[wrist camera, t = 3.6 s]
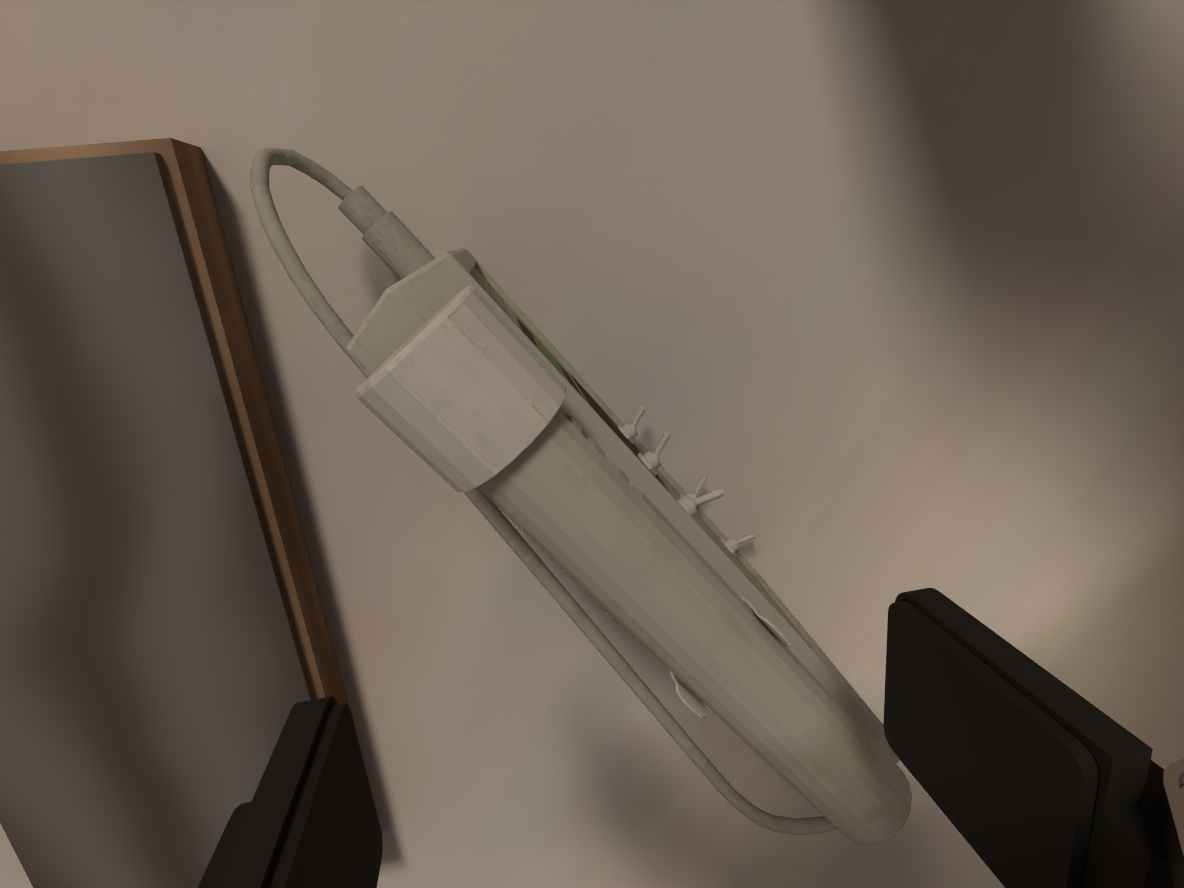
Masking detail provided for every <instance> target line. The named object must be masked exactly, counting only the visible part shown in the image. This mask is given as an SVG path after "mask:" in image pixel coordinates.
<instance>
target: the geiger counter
mask: <svg viewBox="0 0 1184 888" xmlns="http://www.w3.org/2000/svg"><path fill="white" fill-rule="evenodd" d="M272 165H287V166H291V167H293V168H295V169H297V170H299V171H301V172H303V173H305V174H307V175H308V176H310V177H311V178H313V179H315V180H316V181H318V182H319V183H321V184H323V185H324V186H325V187H326V188H328V189H329V190H330V191H331V192H333V193H334V194H335V195H337V196H338V197H339V198H341V199H342V200H343V201H342V202H341V203H340V205H339V207H338V208H339V209H340V211H341V212H342V213H343V214H344V215H345V216H346V217H347V218H348V219H349V220H350V221H351V222H352V223H353V224H354V225H355V226H356V227H357V228H358V229H359V230H360V231H361V232H362V234H363V237H362V240H363V241H364V242H365V243H366V244H367V245H368V246H369V247H370V248H371V249H372V250H373V251H374V252H375V253H376V254H377V255H378V256H379V257H380V258H381V259H382V260H383V261H384V263H385V264H386V265H387V266H388V267H389V268H390V269H391V270H392V271H393V272H394V273H395V274H396V275H397V276H398V277H399V278H400V279H401V280H400V281H398V282H397V283H395V284H393V285H392V286H390V287H388V288H387V289H385V291H384V292H383V294H382V295H381V297H380V298H379V300H378V301H377V303H376V304H375V305H374V307H373V308H372V310H371V311H370V313H369V314H368V316H367V317H366V319H365V320H364V322H363V323H362V324H361V326H360V327H359V329H358V330H357V332H356V333H355V335H354V336H353V335H352V333H351V332H350V331H349V329H348V328H347V327H346V325H345V324H344V323H343V321H342V320H341V319H340V318H339V316H338V315H337V314H336V312H335V311H334V310H333V308H332V307H331V306H330V304H329V303H328V302H327V301H326V299H325V298H324V296H323V295H322V293H321V292H320V290H319V289H318V287H317V286H316V284H315V283H314V281H313V280H312V278H311V277H310V275H309V274H308V272H307V271H306V269H305V267H304V265H303V264H302V262H301V260H300V258H299V256H298V255H297V253H296V251H295V249H294V248H293V246H292V244H291V242H290V240H289V238H288V236H287V234H286V232H285V230H284V228H283V226H282V224H281V222H280V219H279V217H278V214H277V211H276V208H275V206H274V203H273V200H272V196H271V192H270V189H269V170H270V167H271V166H272ZM250 186H251V190H252V194H253V198H254V203H255V206H256V209H257V212H258V215H259V218H260V221H261V224H262V226H263V228H264V230H265V232H266V234H267V237H268V239H269V241H270V243H271V245H272V247H273V249H274V251H275V252H276V254H277V256H278V258H279V260H280V261H281V263H282V265H283V267H284V269H285V270H286V272H287V274H288V276H289V277H290V279H291V280H292V282H293V283H294V285H295V286H296V288H297V289H298V291H299V292H300V294H301V295H302V297H303V298H304V300H305V301H306V303H307V304H308V306H309V307H310V309H311V310H312V311H313V312H314V314H315V315H316V316H317V318H318V319H319V320H320V322H321V323H322V324H323V325H324V327H325V328H326V329H327V331H328V332H329V333H330V335H331V336H332V337H333V338H334V340H335V341H336V342H337V344H338V345H339V346H340V347H341V348H342V350H343V351H344V352H345V353H346V354H347V356H348V357H349V358H350V359H351V360H352V361H353V363H354V364H355V365H356V366H357V367H358V369H359V370H360V371H361V372H362V373H363V374H364V376H365V377H366V378H367V379H366V380H365V381H364V382H363V383H362V385H361V386H360V387H359V388H358V389H357V390H356V394H355V395H356V397H357V399H358V400H359V401H360V402H362V403H363V404H364V405H365V406H366V407H367V408H368V409H369V410H370V411H371V412H372V413H373V414H374V415H375V416H377V417H378V418H379V419H380V420H381V421H382V422H383V423H384V424H385V425H386V426H387V427H388V428H389V429H391V430H392V431H393V432H394V433H395V434H396V435H397V436H398V437H399V438H400V439H401V440H402V441H403V442H405V443H406V444H407V445H408V446H409V447H410V448H411V449H412V450H413V451H414V452H415V453H416V454H417V455H418V456H420V457H421V458H422V459H423V460H424V461H425V462H426V463H427V464H428V465H429V466H430V467H431V468H432V469H434V470H435V471H436V472H437V473H438V474H439V475H440V476H441V477H442V478H443V479H444V480H445V481H446V482H448V483H449V484H450V485H451V486H452V487H453V488H454V489H455V490H456V491H457V492H464V493H465V494H466V496H467V497H468V498H469V499H470V500H471V502H472V503H473V504H474V505H475V506H476V507H477V509H478V510H479V511H480V512H481V513H482V514H483V516H484V517H485V518H486V519H487V520H488V522H489V523H490V524H491V525H492V526H493V527H494V529H495V530H496V531H497V532H498V533H499V534H500V536H501V537H502V538H503V539H504V540H505V542H506V543H507V544H508V545H509V546H510V547H511V549H512V550H513V551H514V552H515V553H516V554H517V556H518V557H519V558H520V559H521V560H522V562H523V563H524V564H525V565H526V566H527V567H528V569H529V570H530V571H531V572H532V573H533V574H534V576H535V577H536V578H537V579H538V580H539V582H540V583H541V584H542V585H543V586H544V587H545V589H546V590H547V591H548V592H549V593H550V594H551V596H552V597H553V598H554V599H555V600H556V601H557V603H558V604H559V605H560V606H561V607H562V609H563V610H564V611H565V612H566V613H567V614H568V616H569V617H570V618H571V619H572V620H573V621H574V623H575V624H576V625H577V626H578V627H579V629H580V630H581V631H582V632H583V633H584V634H585V636H586V637H587V638H588V639H589V640H590V641H591V643H592V644H593V645H594V646H595V647H596V649H597V650H598V651H599V652H600V653H601V654H602V656H603V657H604V658H605V659H606V660H607V661H608V663H609V664H610V665H611V666H612V667H613V669H614V670H615V671H616V672H617V673H618V674H619V676H620V677H621V678H622V679H623V680H624V681H625V683H626V684H627V685H628V686H629V687H630V689H631V690H632V691H633V692H634V693H635V694H636V696H637V697H638V698H639V699H640V700H641V701H642V703H643V704H644V705H645V706H646V707H647V709H648V710H649V711H650V712H651V713H652V714H653V716H654V717H655V718H656V719H657V720H658V721H659V723H660V724H661V725H662V726H663V727H664V729H665V730H666V731H667V732H668V733H669V734H670V736H671V737H672V738H673V739H674V740H675V741H676V743H677V744H678V745H679V746H680V747H681V749H682V750H683V751H684V752H685V753H686V754H687V756H688V757H689V758H690V759H691V760H692V761H693V763H694V764H695V765H696V766H697V767H698V768H699V769H700V771H701V772H702V773H703V774H704V775H705V776H706V778H707V779H708V780H709V781H710V782H711V783H712V784H713V786H714V787H715V788H716V789H717V790H718V791H719V792H720V793H721V794H722V795H723V796H724V798H725V799H726V800H727V801H728V802H729V803H730V804H731V805H733V806H734V807H735V808H736V809H737V810H738V811H740V812H741V813H742V814H743V815H744V816H746V817H747V818H749V819H750V820H752V821H753V822H755V823H756V824H758V825H760V826H762V827H765V828H767V829H770V830H772V831H776V832H783V833H789V834H796V835H802V834H815V833H824V832H827V831H830V830H833V829H836V828H837V829H838V830H839V831H840V832H841V833H842V834H843V835H845V836H846V837H848V838H849V839H851V840H853V841H854V842H859V843H863V844H875V843H881V842H884V841H885V840H887V839H889V838H891V837H893V836H895V834H896V833H897V832H898V831H899V830H900V829H901V828H902V827H903V826H904V824H905V822H906V820H907V818H908V816H909V813H910V810H911V801H912V795H911V790H910V785H909V782H908V780H907V779H906V777H905V775H904V773H903V771H902V770H901V769H900V768H899V767H898V766H897V765H896V763H897V762H898V761H899V760H900V759H899V758H898V757H897V755H896V754H895V753H894V752H893V750H892V749H891V748H890V746H889V744H888V742H887V740H886V737H885V733H884V725H883V724H882V723H881V721H880V720H879V719H878V718H877V717H876V715H875V714H874V713H873V712H872V711H871V709H870V708H869V707H868V706H867V704H866V703H865V702H864V701H863V700H862V698H861V697H860V696H859V695H858V694H857V692H856V691H855V690H854V689H853V687H852V686H851V685H850V684H849V683H848V681H847V680H846V679H845V678H844V677H843V675H842V674H841V673H840V672H839V670H838V669H837V668H836V667H835V666H834V664H833V663H832V662H831V661H830V660H829V658H828V657H827V656H826V655H825V653H824V652H823V651H822V650H821V649H820V647H819V646H818V645H817V644H816V643H815V641H814V640H813V639H812V638H811V636H810V635H809V634H808V633H807V632H806V630H805V629H804V628H803V627H802V626H801V624H800V623H799V622H798V621H797V619H796V618H795V617H794V616H793V615H792V613H791V612H790V611H789V610H788V609H787V607H786V606H785V605H784V604H783V602H782V601H781V600H780V599H779V598H778V596H777V595H776V594H775V593H774V592H773V590H772V589H771V588H770V587H769V585H768V584H767V583H766V582H765V581H764V579H763V578H762V577H761V576H760V575H759V574H758V573H757V572H756V570H755V569H754V568H753V567H752V566H751V565H750V564H749V563H748V562H747V560H746V559H745V558H744V557H743V556H742V555H741V554H740V553H739V552H738V549H740V547H739V546H738V544H740V543H743V542H746V541H749V540H751V539H754V538H755V537H756V534H755V533H751V534H749V535H747V536H744V537H742V538H740V539H738V540H736V539H732V538H731V537H729V538H728V539H727V538H726V537H725V536H724V535H723V534H722V533H721V532H720V530H719V529H718V528H717V527H716V526H715V525H714V524H713V523H712V522H711V520H710V519H709V518H708V517H707V516H706V515H705V514H704V513H703V512H702V510H701V509H700V508H699V507H698V505H701V504H703V503H706V502H709V501H711V500H714V499H717V498H720V497H722V496H723V495H724V491H723V490H722V489H716V490H714V491H712V492H709V493H707V494H705V495H703V496H700V497H697V495H698V493H699V492H700V490H701V489H702V487H703V485H704V484H705V482H706V480H707V479H706V477H702V478H701V479H700V481H699V483H698V485H697V487H696V489H695V490H694V492H693V493H690V491H689V492H688V493H687V494H686V493H685V492H684V490H683V489H682V488H681V487H680V486H679V485H678V484H677V483H676V482H675V481H674V479H673V478H672V477H671V476H670V475H669V474H668V473H667V472H666V471H665V469H664V468H663V467H662V466H661V463H660V462H659V454H660V452H661V451H662V449H663V447H664V446H665V444H666V442H667V441H668V439H669V437H670V433H669V432H664V433H663V435H662V437H661V439H660V441H659V443H658V445H657V447H656V449H655V451H654V453H651V452H650V451H647V449H646V448H645V447H644V446H643V445H642V444H641V443H640V442H639V441H638V439H637V438H636V436H637V435H638V434H637V433H636V425H637V423H638V422H639V420H640V418H641V417H642V415H643V413H644V412H645V407H644V406H641V407H640V408H639V410H638V412H637V414H636V416H635V418H634V419H633V421H632V423H631V425H629V424H628V423H626V424H625V425H624V424H623V423H622V422H621V421H620V419H619V418H618V417H617V416H616V415H615V414H614V413H613V412H612V411H611V409H610V408H609V407H608V406H607V405H606V404H605V403H604V402H603V401H602V399H601V398H600V397H599V396H598V395H597V394H596V393H595V392H594V391H593V389H592V388H591V387H590V386H589V385H588V384H587V383H586V382H585V381H584V379H583V378H582V377H581V376H580V375H579V374H578V373H577V372H576V371H575V369H574V368H573V367H572V366H571V365H570V364H569V363H568V362H567V361H566V359H565V358H564V357H563V356H562V355H561V354H560V353H559V352H558V351H557V349H556V348H555V347H554V346H553V345H552V344H551V343H550V342H549V341H548V339H547V338H546V337H545V336H544V335H543V334H542V333H541V332H540V331H539V329H538V328H537V327H536V326H535V325H534V324H533V323H532V322H531V321H530V319H529V318H528V317H527V316H526V315H525V314H524V313H523V312H522V311H521V309H520V308H519V307H518V306H517V305H516V304H515V303H514V302H513V301H512V300H511V298H510V297H509V296H508V295H507V294H506V293H505V292H504V291H503V290H502V288H501V287H500V286H499V285H498V284H497V283H496V282H495V281H494V280H493V278H492V277H491V276H490V275H489V274H488V273H487V272H486V271H485V270H484V268H483V267H482V266H481V265H480V264H479V263H478V262H477V261H476V260H475V258H474V257H473V256H472V255H471V254H470V253H469V252H468V251H467V250H466V249H464V248H463V249H459V250H454V251H449V252H446V253H444V254H443V255H441V256H439V257H438V258H435V257H434V256H433V255H432V254H431V253H430V252H429V251H428V250H427V249H426V248H425V247H424V245H423V244H422V243H421V242H420V241H419V240H418V239H417V238H416V237H415V236H414V235H413V234H412V233H411V231H410V230H409V229H408V228H407V227H406V226H405V225H404V224H403V223H402V222H401V221H400V220H399V218H398V217H397V216H396V215H395V214H394V213H393V212H392V211H390V212H388V213H387V212H386V211H385V210H384V209H383V207H382V206H381V205H380V204H379V203H378V202H377V201H376V200H375V199H374V198H373V197H372V196H371V195H370V193H369V192H368V191H367V190H366V189H365V188H364V187H363V186H359V187H357V188H356V189H354V190H352V189H351V188H349V187H348V186H347V185H345V184H344V183H343V182H342V181H340V180H339V179H338V178H337V177H335V176H334V175H333V174H332V173H330V172H329V171H327V170H326V169H324V168H323V167H321V166H320V165H318V164H317V163H315V162H314V161H312V160H310V159H308V158H307V157H305V156H303V155H301V154H299V153H297V152H295V151H293V150H286V149H278V148H265V149H263V150H260V151H258V152H257V153H256V155H255V157H254V159H253V161H252V166H251V182H250ZM497 507H498V508H499V509H501V510H502V511H503V512H504V513H505V514H506V515H507V516H508V517H509V518H510V519H511V520H512V521H513V522H514V523H515V524H516V525H517V526H518V527H520V528H521V529H522V530H523V531H524V532H525V533H526V534H527V535H528V536H529V537H530V538H531V539H532V540H533V541H534V542H535V543H536V544H537V545H538V546H540V547H541V548H542V549H543V550H544V551H545V552H546V553H547V554H548V555H549V556H550V557H551V558H552V559H553V560H554V561H555V562H556V563H557V564H558V565H560V566H561V567H562V568H563V569H564V570H565V571H566V572H567V573H568V574H569V575H570V576H571V577H572V578H573V579H574V580H575V581H576V582H577V583H579V584H580V585H581V586H582V587H583V588H584V589H585V590H586V591H587V592H588V593H589V594H590V595H591V596H592V597H593V598H594V599H595V600H596V601H597V602H599V603H600V604H601V605H602V606H603V607H604V608H605V609H606V610H607V611H608V612H609V613H610V614H611V615H612V616H613V617H614V618H615V619H616V620H617V621H619V622H620V623H621V624H622V625H623V626H624V627H625V628H626V629H627V630H628V631H629V632H630V633H631V634H632V635H633V636H634V637H635V638H636V639H638V640H639V641H640V642H641V643H642V644H643V645H644V646H645V647H646V648H647V649H648V650H649V651H650V652H651V653H652V654H653V655H654V656H655V657H656V658H658V659H659V660H660V661H661V662H662V663H663V664H664V665H665V666H666V667H667V668H668V669H669V671H670V675H671V678H672V680H673V681H674V683H675V688H676V692H677V694H678V696H679V697H680V699H681V700H682V701H683V702H684V704H685V705H686V706H687V707H689V708H690V709H691V710H692V711H693V712H694V713H695V714H696V715H698V716H699V717H700V718H704V717H706V709H705V706H704V704H703V702H704V703H705V704H706V705H707V706H708V707H709V708H710V709H711V710H712V711H713V712H714V713H716V714H717V715H718V716H719V717H720V718H721V719H722V720H723V721H724V722H725V723H726V724H727V725H728V726H729V727H730V728H731V729H732V730H733V731H734V732H736V733H737V734H738V735H739V736H740V737H741V738H742V739H743V740H744V741H745V742H746V743H747V744H748V745H749V746H750V747H751V748H752V749H753V750H754V751H756V752H757V753H758V754H759V755H760V756H761V757H762V758H763V759H764V760H765V761H766V762H767V763H768V764H769V765H770V766H771V767H772V768H773V769H775V770H776V771H777V772H778V773H779V774H780V775H781V776H782V777H783V778H784V779H785V780H786V781H787V782H788V783H789V784H790V785H791V786H792V787H793V788H795V789H796V790H797V791H798V792H799V793H800V794H801V795H802V796H803V797H804V798H805V799H806V800H807V801H808V802H809V803H810V804H811V805H812V806H814V807H815V808H816V809H817V810H818V811H819V812H820V813H821V814H822V815H823V816H824V817H812V818H801V819H796V818H788V817H781V816H774V815H771V814H769V813H767V812H764V811H762V810H760V809H758V808H757V807H755V806H754V805H753V804H751V803H750V802H748V801H747V800H746V799H745V798H744V797H743V796H742V795H740V794H739V793H738V792H737V791H736V790H735V789H734V788H733V787H732V786H731V785H730V784H729V782H728V781H727V780H726V779H725V778H724V777H723V776H722V775H721V773H720V772H719V771H718V770H717V769H716V768H715V766H714V765H713V764H712V763H711V762H710V761H709V759H708V758H707V757H706V756H705V755H704V753H703V752H702V751H701V750H700V749H699V747H698V746H697V745H696V744H695V743H694V742H693V740H692V739H691V738H690V737H689V736H688V734H687V733H686V732H685V731H684V730H683V728H682V727H681V726H680V725H679V724H678V722H677V721H676V720H675V719H674V718H673V716H672V715H671V714H670V713H669V712H668V711H667V709H666V708H665V707H664V706H663V705H662V703H661V702H660V701H659V700H658V699H657V697H656V696H655V695H654V694H653V693H652V691H651V690H650V689H649V688H648V687H647V685H646V684H645V683H644V682H643V681H642V679H641V678H640V677H639V676H638V675H637V674H636V672H635V671H634V670H633V669H632V668H631V666H630V665H629V664H628V663H627V662H626V660H625V659H624V658H623V657H622V656H621V654H620V653H619V652H618V651H617V650H616V648H615V647H614V646H613V645H612V644H611V643H610V641H609V640H608V639H607V638H606V637H605V635H604V634H603V633H602V632H601V631H600V629H599V628H598V627H597V626H596V625H595V623H594V622H593V621H592V620H591V619H590V617H589V616H588V615H587V614H586V613H585V611H584V610H583V609H582V608H581V607H580V606H579V604H578V603H577V602H576V601H575V600H574V598H573V597H572V596H571V595H570V594H569V592H568V591H567V590H566V589H565V588H564V586H563V585H562V584H561V583H560V582H559V580H558V579H557V578H556V577H555V576H554V575H553V573H552V572H551V571H550V570H549V569H548V567H547V566H546V565H545V564H544V563H543V561H542V560H541V559H540V558H539V557H538V555H537V554H536V553H535V552H534V551H533V549H532V548H531V547H530V546H529V545H528V543H527V542H526V541H525V540H524V539H523V538H522V536H521V535H520V534H519V533H518V532H517V530H516V529H515V528H514V527H513V526H512V524H511V523H510V522H509V521H508V520H507V518H506V517H505V516H504V515H503V514H502V512H501V511H500V510H499V509H498V508H497Z"/></svg>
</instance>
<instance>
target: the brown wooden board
mask: <svg viewBox="0 0 1184 888" xmlns="http://www.w3.org/2000/svg"><path fill="white" fill-rule="evenodd" d="M330 696H332V697H334V698H335V699H336V701H337V703H338V704H344V703H346V704H348V703H347V700H346V696H345V692H344V688H343V685H342V681H341V677H340V673H339V669H338V666H337V662H336V658H335V654H334V650H333V647H332V643H331V639H330V635H329V632H328V628H327V624H326V620H325V616H324V613H323V609H322V605H321V601H320V598H319V594H318V590H317V586H316V582H315V579H314V575H313V571H312V567H311V563H310V560H309V556H308V552H307V548H306V545H305V541H304V537H303V533H302V529H301V526H300V522H299V518H298V514H297V510H296V507H295V503H294V499H293V495H292V492H291V488H290V484H289V480H288V476H287V473H286V469H285V465H284V461H283V458H282V454H281V450H280V446H279V442H278V439H277V435H276V431H275V427H274V423H273V420H272V416H271V412H270V408H269V405H268V401H267V397H266V393H265V389H264V386H263V382H262V378H261V374H260V371H259V367H258V363H257V359H256V355H255V352H254V348H253V344H252V340H251V336H250V333H249V329H248V325H247V321H246V318H245V314H244V310H243V306H242V302H241V299H240V295H239V291H238V287H237V284H236V280H235V276H234V272H233V268H232V265H231V261H230V257H229V253H228V249H227V246H226V242H225V238H224V234H223V231H222V227H221V223H220V219H219V215H218V212H217V208H216V204H215V200H214V196H213V193H212V189H211V185H210V181H209V178H208V174H207V170H206V166H205V162H204V159H203V155H202V151H201V148H200V147H197V146H194V145H191V144H188V143H185V142H181V141H178V140H175V139H172V138H165V139H152V140H140V141H127V142H114V143H102V144H89V145H76V146H64V147H51V148H38V149H26V150H13V151H0V823H1V825H2V827H3V829H4V831H5V833H6V835H7V837H8V839H9V841H10V843H11V845H12V847H13V849H14V851H15V853H16V854H17V856H18V858H19V860H20V862H21V864H22V866H23V868H24V870H25V872H26V874H27V876H28V878H29V880H30V882H31V884H32V886H33V888H198V886H199V884H200V881H201V879H202V877H203V875H204V873H205V871H206V868H207V866H208V864H209V862H210V860H211V857H212V855H213V853H214V851H215V849H216V847H217V844H218V842H219V840H220V838H221V836H222V834H223V831H224V829H225V827H226V825H227V823H228V820H229V818H230V817H231V815H232V813H233V812H234V810H235V808H237V807H238V806H239V805H240V804H242V803H247V802H251V801H252V799H253V796H254V794H255V792H256V789H257V787H258V785H259V782H260V780H261V778H262V776H263V773H264V771H265V769H266V766H267V764H268V762H269V759H270V757H271V755H272V752H273V750H274V748H275V746H276V743H277V741H278V739H279V736H280V734H281V732H282V729H283V727H284V725H285V722H286V720H287V718H288V716H289V713H290V711H291V709H292V707H293V705H294V704H295V703H297V702H302V701H308V700H313V699H319V698H324V697H330ZM379 825H380V824H379ZM380 829H381V828H380ZM381 834H382V832H381Z"/></svg>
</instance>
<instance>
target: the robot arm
mask: <svg viewBox="0 0 1184 888" xmlns="http://www.w3.org/2000/svg"><path fill="white" fill-rule="evenodd" d="M884 733H885V737H886V740H887V742H888V744H889V746H890V748H891V749H892V750H893V752H894V753H895V754H896V755H897V757H898V758H899V759H900V760H901V762H902V763H903V764H904V765H905V766H906V768H907V769H908V770H909V771H910V772H911V774H912V775H913V776H914V777H915V779H916V780H917V781H918V782H919V783H920V785H921V786H922V787H923V788H924V789H925V791H926V792H927V793H928V794H929V796H930V797H931V798H932V799H933V800H934V802H935V803H936V804H937V805H938V806H939V808H940V809H941V810H942V811H943V813H944V814H945V815H946V816H947V817H948V819H949V820H950V821H951V822H952V824H953V825H954V826H955V827H956V828H957V830H958V831H959V832H960V833H961V834H962V836H963V837H964V838H965V839H966V841H967V842H968V843H969V844H970V845H971V847H972V848H973V849H974V850H975V851H976V853H977V854H978V855H979V856H980V858H981V859H982V860H983V861H984V862H985V864H986V865H987V866H988V867H989V868H990V870H991V871H992V872H993V873H994V875H995V876H996V877H997V878H998V879H999V881H1000V882H1001V883H1002V884H1003V885H1004V887H1005V888H1184V759H1183V760H1180V761H1177V762H1174V763H1171V764H1170V765H1169V766H1168V767H1167V768H1166V769H1165V770H1164V769H1162V768H1161V767H1160V766H1158V765H1157V764H1156V763H1154V762H1153V761H1152V760H1151V754H1152V748H1151V747H1149V746H1148V745H1146V744H1145V743H1144V742H1142V741H1141V740H1140V739H1138V738H1137V737H1136V736H1134V735H1133V734H1132V733H1130V732H1129V731H1127V730H1126V729H1125V728H1123V727H1122V726H1121V725H1119V724H1118V723H1117V722H1115V721H1114V720H1113V719H1111V718H1110V717H1109V716H1107V715H1106V714H1104V713H1103V712H1102V711H1100V710H1099V709H1098V708H1096V707H1095V706H1094V705H1092V704H1091V703H1090V702H1088V701H1087V700H1085V699H1084V698H1083V697H1081V696H1080V695H1079V694H1077V693H1076V692H1075V691H1073V690H1072V689H1071V688H1069V687H1068V686H1067V685H1065V684H1064V683H1062V682H1061V681H1060V680H1058V679H1057V678H1056V677H1054V676H1053V675H1052V674H1050V673H1049V672H1048V671H1046V670H1045V669H1043V668H1042V667H1041V666H1039V665H1038V664H1037V663H1035V662H1034V661H1033V660H1031V659H1030V658H1029V657H1027V656H1026V655H1025V654H1023V653H1022V652H1020V651H1019V650H1018V649H1016V648H1015V647H1014V646H1012V645H1011V644H1010V643H1008V642H1007V641H1006V640H1004V639H1003V638H1001V637H1000V636H999V635H997V634H996V633H995V632H993V631H992V630H991V629H989V628H988V627H987V626H985V625H984V624H983V623H981V622H980V621H978V620H977V619H976V618H974V617H973V616H972V615H970V614H969V613H968V612H966V611H965V610H964V609H962V608H961V607H959V606H958V605H957V604H955V603H954V602H953V601H951V600H950V599H949V598H947V597H946V596H945V595H943V594H942V593H941V592H939V591H938V590H936V589H934V588H926V589H920V590H915V591H909V592H904V593H900V594H899V595H898V596H897V598H896V600H895V603H892V604H891V605H890V606H889V610H888V629H887V654H886V678H885V703H884ZM381 859H382V834H381V829H380V825H379V821H378V817H377V813H376V809H375V805H374V801H373V798H372V794H371V790H370V786H369V782H368V778H367V774H366V770H365V766H364V762H363V758H362V754H361V750H360V746H359V742H358V738H357V734H356V730H355V726H354V722H353V718H352V714H351V711H350V708H349V706H348V704H346V703H344V704H338V703H337V701H336V699H335V698H334V697H332V696H330V697H324V698H319V699H313V700H308V701H302V702H297V703H295V704H294V705H293V707H292V709H291V711H290V713H289V716H288V718H287V720H286V722H285V725H284V727H283V729H282V732H281V734H280V736H279V739H278V741H277V743H276V746H275V748H274V750H273V752H272V755H271V757H270V759H269V762H268V764H267V766H266V769H265V771H264V773H263V776H262V778H261V780H260V782H259V785H258V787H257V789H256V792H255V794H254V796H253V799H252V801H251V802H247V803H242V804H240V805H239V806H238V807H237V808H235V810H234V812H233V813H232V815H231V817H230V818H229V820H228V823H227V825H226V827H225V829H224V831H223V834H222V836H221V838H220V840H219V842H218V844H217V847H216V849H215V851H214V853H213V855H212V857H211V860H210V862H209V864H208V866H207V868H206V871H205V873H204V875H203V877H202V879H201V881H200V884H199V886H198V888H377V882H378V876H379V871H380V865H381Z"/></svg>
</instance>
